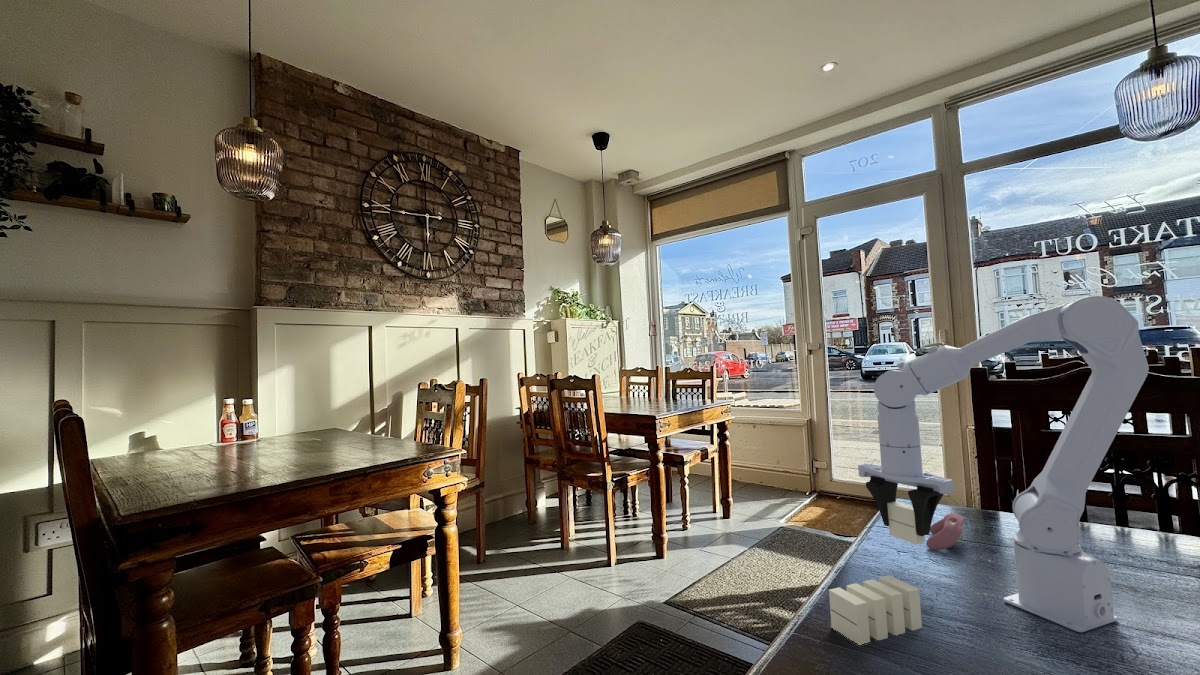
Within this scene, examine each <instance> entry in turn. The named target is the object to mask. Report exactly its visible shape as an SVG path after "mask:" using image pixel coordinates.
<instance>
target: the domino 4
mask: <svg viewBox="0 0 1200 675" xmlns="http://www.w3.org/2000/svg"><path fill="white" fill-rule="evenodd" d="M887 507H888V518H889V526H888V530H889V532H888V533H889V536H892V537H895V538H897V539H900V540H903V541H904V542H905V541H906V542H908V543H911V544H915V545H920V544H924V543H926V538H925V536H926V535H925V536H919V535H917V532H916V526H915V515H914V510H913V506H912V505H911V504H906V503H902V502H899V501H895V502H890V503H887Z"/></svg>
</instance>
